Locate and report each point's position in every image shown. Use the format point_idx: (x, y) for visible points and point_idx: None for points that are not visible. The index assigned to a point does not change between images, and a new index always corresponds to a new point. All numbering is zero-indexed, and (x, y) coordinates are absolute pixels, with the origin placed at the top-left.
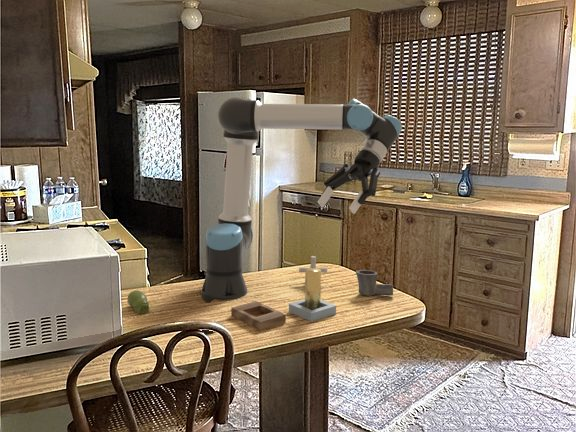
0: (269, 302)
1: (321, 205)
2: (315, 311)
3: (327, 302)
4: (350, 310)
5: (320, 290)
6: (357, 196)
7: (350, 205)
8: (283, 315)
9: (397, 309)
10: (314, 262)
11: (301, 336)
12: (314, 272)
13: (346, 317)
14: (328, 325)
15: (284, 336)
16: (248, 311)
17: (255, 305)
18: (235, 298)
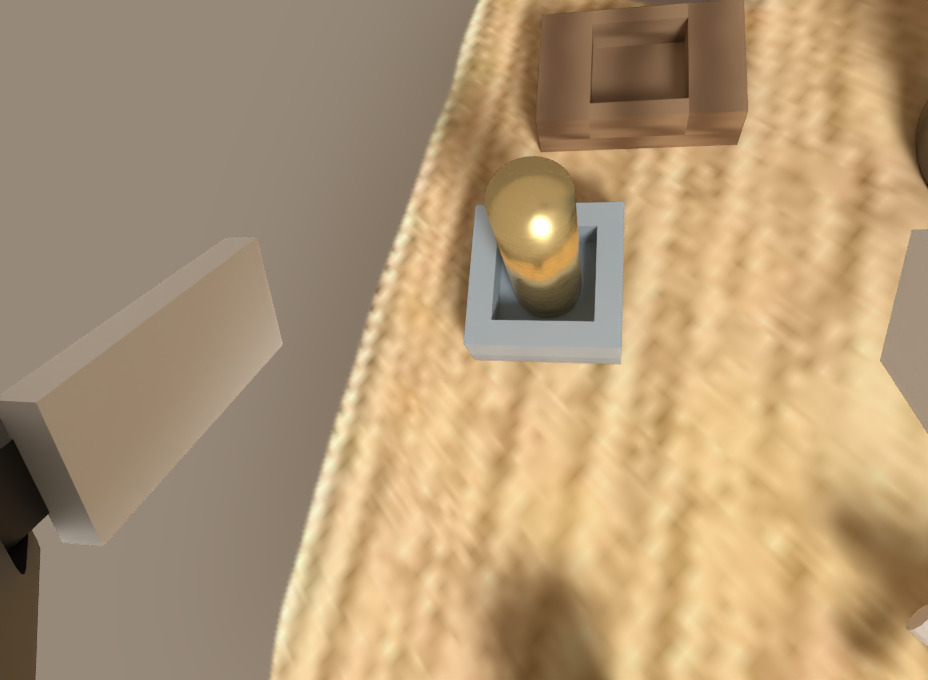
0: (824, 266)
1: (892, 314)
2: (478, 229)
3: (518, 342)
4: (493, 482)
5: (507, 266)
6: (108, 336)
7: (234, 253)
8: (536, 111)
9: (349, 668)
10: None
11: (449, 151)
12: (495, 176)
13: (452, 403)
14: (448, 286)
15: (488, 109)
16: (687, 53)
17: (701, 82)
18: (925, 128)
